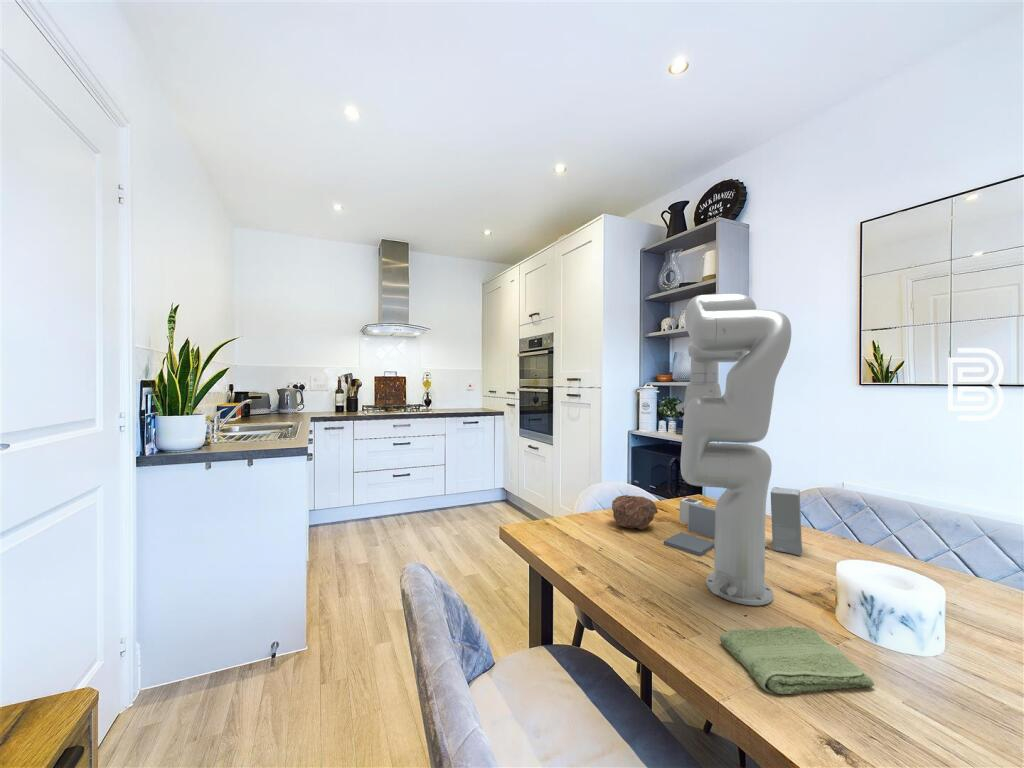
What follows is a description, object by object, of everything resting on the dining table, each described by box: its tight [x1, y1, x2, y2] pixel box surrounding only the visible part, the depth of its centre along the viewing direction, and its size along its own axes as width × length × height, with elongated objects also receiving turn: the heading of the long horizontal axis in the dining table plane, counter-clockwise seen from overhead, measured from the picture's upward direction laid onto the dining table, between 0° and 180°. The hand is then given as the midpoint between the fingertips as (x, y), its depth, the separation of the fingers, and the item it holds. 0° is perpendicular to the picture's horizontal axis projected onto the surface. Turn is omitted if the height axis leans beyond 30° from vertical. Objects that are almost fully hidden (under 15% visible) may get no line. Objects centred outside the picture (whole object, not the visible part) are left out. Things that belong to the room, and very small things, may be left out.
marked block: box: [679, 497, 703, 526], centre depth 130 cm, size 5×5×7 cm
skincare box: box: [770, 486, 803, 557], centre depth 111 cm, size 8×7×16 cm
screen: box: [688, 504, 715, 540], centre depth 118 cm, size 2×13×8 cm, turn 42°
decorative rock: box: [611, 494, 659, 531], centre depth 126 cm, size 13×11×10 cm
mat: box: [663, 531, 715, 557], centre depth 112 cm, size 10×10×1 cm
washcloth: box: [719, 625, 875, 695], centre depth 66 cm, size 13×18×3 cm
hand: (702, 434), depth 126 cm, fingers open, 9 cm apart
